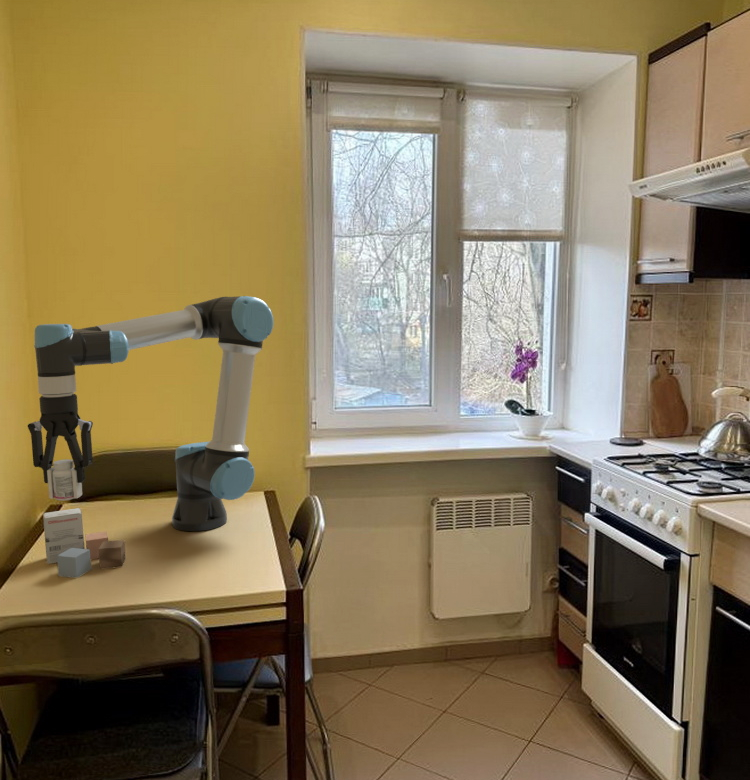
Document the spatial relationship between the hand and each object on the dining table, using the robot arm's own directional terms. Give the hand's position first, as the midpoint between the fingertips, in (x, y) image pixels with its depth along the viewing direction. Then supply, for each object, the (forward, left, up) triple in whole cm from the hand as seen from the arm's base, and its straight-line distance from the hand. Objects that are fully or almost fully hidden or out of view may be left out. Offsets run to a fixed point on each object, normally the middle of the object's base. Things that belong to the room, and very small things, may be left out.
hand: (66, 496), depth 150 cm
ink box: (+7, -13, -20) cm, 25 cm away
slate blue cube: (+1, -4, -20) cm, 20 cm away
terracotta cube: (0, -15, -20) cm, 25 cm away
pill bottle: (0, 0, -1) cm, 1 cm away
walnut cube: (-6, -9, -20) cm, 23 cm away
